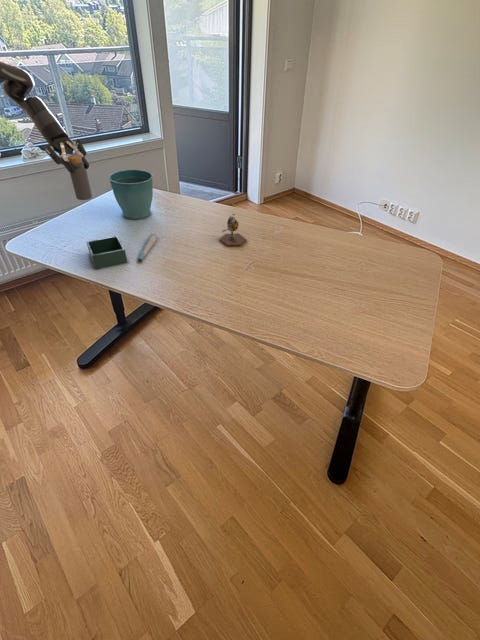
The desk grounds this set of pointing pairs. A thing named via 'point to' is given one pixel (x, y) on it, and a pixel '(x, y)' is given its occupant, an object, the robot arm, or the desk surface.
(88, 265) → the desk surface
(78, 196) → the bottle
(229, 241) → the brown figurine on base
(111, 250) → the green open box
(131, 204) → the flower pot
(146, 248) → the pen
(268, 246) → the desk surface
